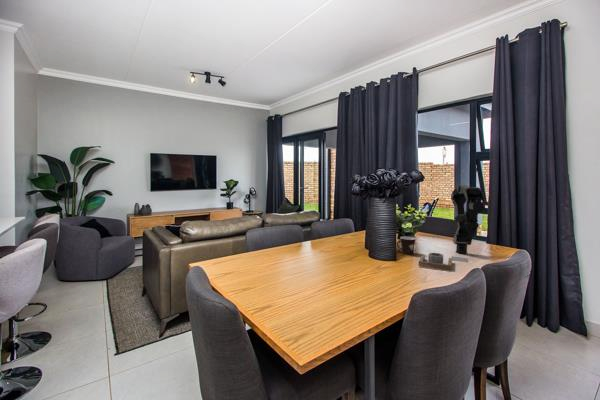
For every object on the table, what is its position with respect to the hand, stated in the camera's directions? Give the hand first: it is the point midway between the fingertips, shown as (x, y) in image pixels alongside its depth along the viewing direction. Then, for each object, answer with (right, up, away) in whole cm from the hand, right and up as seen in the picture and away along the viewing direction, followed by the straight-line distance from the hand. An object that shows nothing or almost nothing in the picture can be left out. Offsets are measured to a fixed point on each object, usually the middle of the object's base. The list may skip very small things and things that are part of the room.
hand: (470, 237), depth 159 cm
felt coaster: (-5, -13, +2) cm, 14 cm away
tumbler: (-23, -14, -7) cm, 27 cm away
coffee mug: (-31, -12, +15) cm, 37 cm away
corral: (-23, -14, -7) cm, 27 cm away
